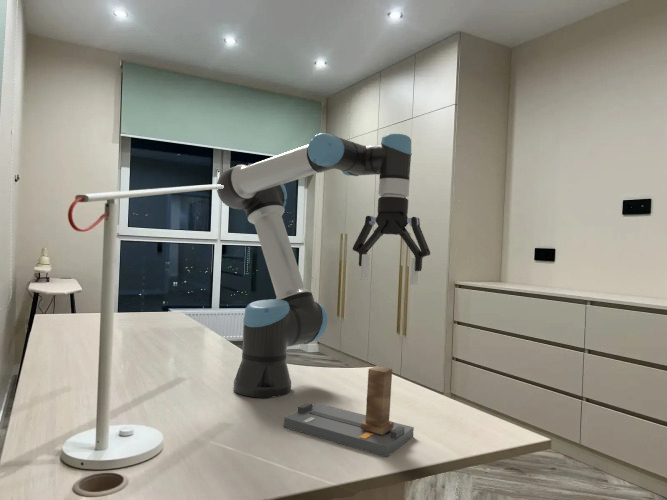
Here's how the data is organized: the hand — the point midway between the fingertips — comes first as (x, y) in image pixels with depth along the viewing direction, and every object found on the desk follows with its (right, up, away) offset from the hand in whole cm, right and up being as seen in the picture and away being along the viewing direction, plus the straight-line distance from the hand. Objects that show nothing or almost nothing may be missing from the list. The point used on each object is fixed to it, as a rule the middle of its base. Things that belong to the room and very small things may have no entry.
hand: (388, 282), depth 127 cm
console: (-11, -30, -20) cm, 38 cm away
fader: (-5, -28, -24) cm, 37 cm away
